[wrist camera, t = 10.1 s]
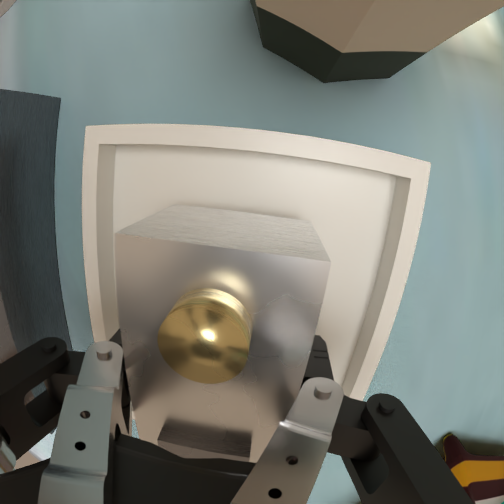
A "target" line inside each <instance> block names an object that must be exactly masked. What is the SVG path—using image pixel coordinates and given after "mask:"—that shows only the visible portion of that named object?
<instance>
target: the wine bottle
mask: <svg viewBox="0 0 504 504" xmlns="http://www.w3.org/2000/svg"><path fill="white" fill-rule="evenodd" d="M250 1H251V4H252V8H253V11H254V15H255V18H256V22H257V26H258V29H259V33H260V37H261V41H262V44H263V47H264V48H266V49H268V50H270V51H272V52H273V53H275V54H277V55H279V56H281V57H282V58H284V59H286V60H288V61H289V62H291V63H293V64H294V65H296V66H298V67H299V68H301V69H303V70H304V71H306V72H308V73H309V74H311V75H312V76H314V77H315V78H317V79H319V80H320V81H322V82H323V83H328V82H337V81H348V80H361V79H379V78H390V77H391V76H392V75H394V74H395V73H397V72H398V71H400V70H401V69H403V68H404V67H406V66H407V65H409V64H410V63H412V62H413V61H415V60H416V59H418V58H419V57H421V56H422V55H424V54H425V53H427V52H428V51H430V50H431V49H433V48H435V47H436V46H438V45H439V44H441V43H442V42H444V41H446V40H447V39H449V38H450V37H452V36H454V35H455V34H457V33H459V32H460V31H462V30H463V29H465V28H467V27H468V26H470V25H472V24H474V23H475V22H477V21H479V20H480V19H482V18H484V17H486V16H487V15H489V14H491V13H493V12H494V11H496V10H498V9H500V8H502V7H503V6H504V0H250Z"/></svg>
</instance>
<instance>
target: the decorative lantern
mask: <svg viewBox="0 0 504 504" xmlns="http://www.w3.org/2000/svg"><path fill="white" fill-rule="evenodd" d="M443 447H444V453H445V463H446V464H447V465H448V467H449V468H450V470H451V471H452V473H453V474H454V476H455V477H456V478H457V480H458V481H459V483H460V484H461V486H462V487H463V489H464V490H465V491H466V493H467V494H468V496H469V497H470V499H471V500H472V502H473V503H474V504H504V456H484V455H473V454H470V453H469V452H467V451H466V450H465V448H464V447H463V445H462V444H461V443H460V441H459V440H458V438H457V437H456V436H454V435H453V434H451V435H447V436H445V437H444V439H443Z"/></svg>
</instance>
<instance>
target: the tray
mask: <svg viewBox="0 0 504 504" xmlns="http://www.w3.org/2000/svg"><path fill="white" fill-rule="evenodd" d="M430 166H431V163H429V162H426V161H422V160H419V159H415V158H411V157H407V156H403V155H400V154H395V153H391V152H387V151H383V150H379V149H374V148H370V147H365V146H360V145H355V144H350V143H345V142H340V141H334V140H329V139H323V138H317V137H311V136H304V135H297V134H290V133H283V132H275V131H266V130H257V129H247V128H236V127H223V126H208V125H186V124H115V125H94V126H86V130H85V141H84V155H83V174H82V233H83V253H84V267H85V278H86V288H87V297H88V305H89V312H90V319H91V326H92V332H93V338H94V343H96V342H100V341H109V340H110V339H111V338H112V336H113V335H114V334H115V333H116V332H117V331H118V329H119V328H120V321H119V311H118V299H117V285H116V266H115V232H117V231H119V230H121V229H123V228H125V227H127V226H129V225H131V224H133V223H135V222H138V221H140V220H142V219H144V218H146V217H148V216H150V215H152V214H154V213H156V212H159V211H161V210H163V209H165V208H167V207H169V206H171V205H174V204H178V205H188V206H197V207H206V208H215V209H223V210H232V211H240V212H248V213H256V214H263V215H271V216H278V217H286V218H293V219H300V220H307V221H311V223H312V225H313V227H314V228H315V230H316V232H317V234H318V236H319V238H320V240H321V242H322V244H323V246H324V248H325V250H326V252H327V254H328V256H329V258H330V260H331V266H330V271H329V276H328V281H327V285H326V290H325V294H324V299H323V303H322V307H321V312H320V316H319V320H318V324H317V328H316V332H315V335H320V336H321V338H322V339H323V340H324V341H325V342H326V345H327V349H328V354H329V359H330V363H331V368H332V373H333V378H334V381H335V382H337V383H338V384H339V385H340V386H341V387H342V389H343V392H344V395H346V396H348V397H350V398H353V399H356V400H360V401H363V399H364V397H365V394H366V392H367V390H368V388H369V385H370V383H371V381H372V378H373V376H374V373H375V371H376V369H377V366H378V364H379V361H380V359H381V356H382V353H383V351H384V348H385V346H386V343H387V340H388V337H389V335H390V332H391V329H392V326H393V323H394V320H395V317H396V314H397V311H398V308H399V305H400V302H401V298H402V295H403V292H404V288H405V285H406V282H407V278H408V274H409V271H410V267H411V263H412V259H413V255H414V251H415V247H416V243H417V238H418V234H419V229H420V225H421V220H422V215H423V210H424V204H425V199H426V193H427V187H428V180H429V173H430ZM132 419H134V420H135V417H134V412H133V407H132Z"/></svg>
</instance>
